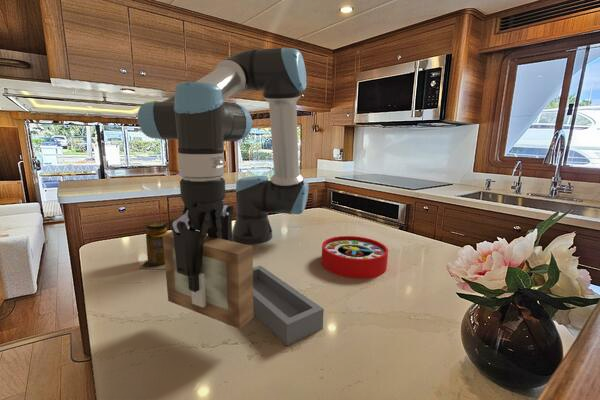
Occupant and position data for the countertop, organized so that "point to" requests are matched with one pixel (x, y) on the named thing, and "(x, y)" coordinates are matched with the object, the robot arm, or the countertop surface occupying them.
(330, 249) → the toy clock
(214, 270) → the walnut frame
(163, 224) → the condiment
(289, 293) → the charcoal tray
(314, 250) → the countertop surface
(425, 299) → the countertop surface
